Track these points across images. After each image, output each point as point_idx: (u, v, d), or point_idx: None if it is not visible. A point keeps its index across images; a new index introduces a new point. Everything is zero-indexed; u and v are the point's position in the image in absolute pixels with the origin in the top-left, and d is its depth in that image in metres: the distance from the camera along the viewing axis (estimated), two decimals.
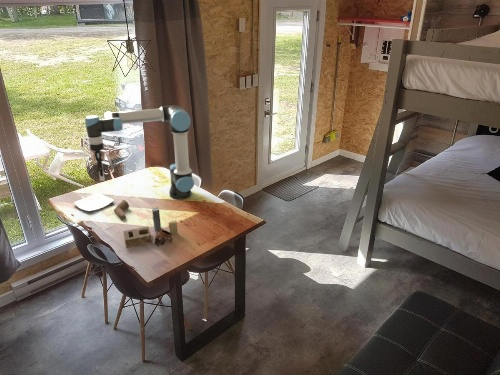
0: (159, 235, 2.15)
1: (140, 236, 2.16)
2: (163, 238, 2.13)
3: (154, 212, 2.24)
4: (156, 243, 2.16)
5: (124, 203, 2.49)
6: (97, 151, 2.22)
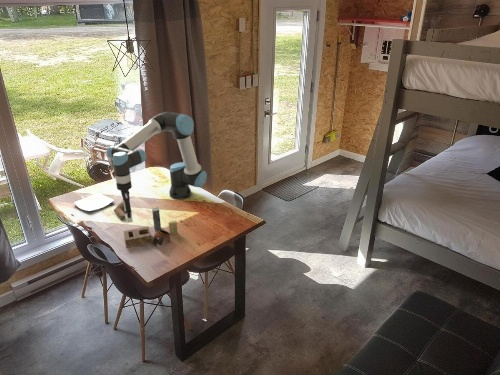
0: (157, 235, 2.15)
1: (140, 236, 2.16)
2: (161, 238, 2.13)
3: (154, 212, 2.24)
4: (154, 243, 2.16)
5: None
6: (125, 191, 2.01)
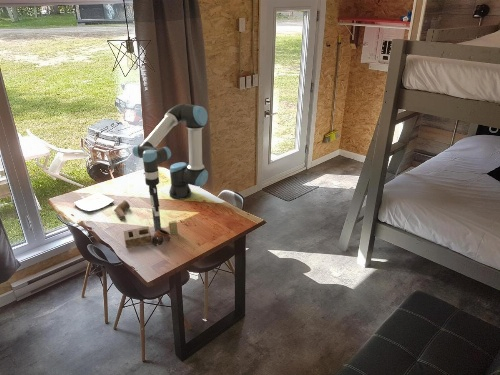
0: (157, 235, 2.16)
1: (140, 236, 2.16)
2: (161, 238, 2.13)
3: None
4: (154, 243, 2.16)
5: (125, 203, 2.49)
6: (153, 186, 2.15)
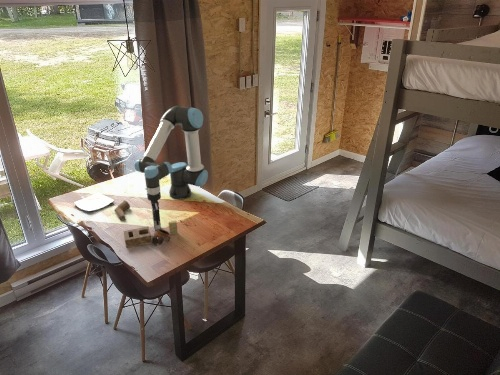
0: (157, 234, 2.16)
1: (140, 236, 2.16)
2: (161, 237, 2.14)
3: None
4: (154, 243, 2.16)
5: (125, 203, 2.49)
6: (155, 201, 2.19)
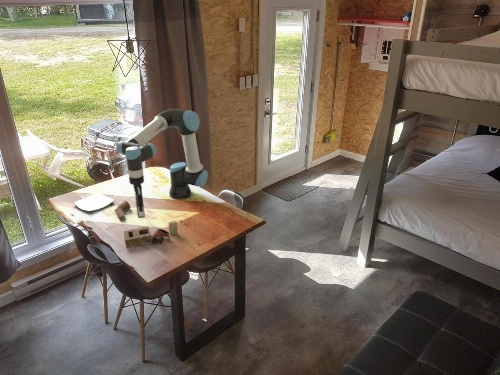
0: (157, 234, 2.16)
1: (140, 236, 2.16)
2: (161, 237, 2.14)
3: None
4: (154, 242, 2.17)
5: (125, 204, 2.49)
6: (137, 185, 2.03)
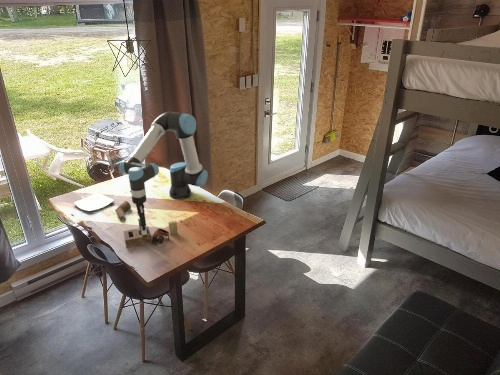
0: (157, 234, 2.16)
1: (140, 236, 2.16)
2: (162, 236, 2.14)
3: None
4: (154, 242, 2.17)
5: (126, 204, 2.49)
6: (140, 204, 2.08)
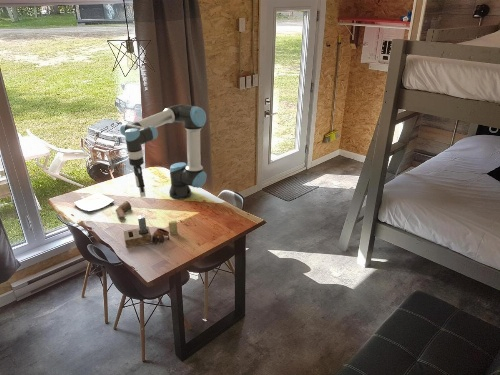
0: (157, 234, 2.17)
1: (140, 236, 2.16)
2: (162, 236, 2.15)
3: (140, 220, 2.14)
4: (154, 242, 2.17)
5: (126, 204, 2.48)
6: (137, 166, 2.09)
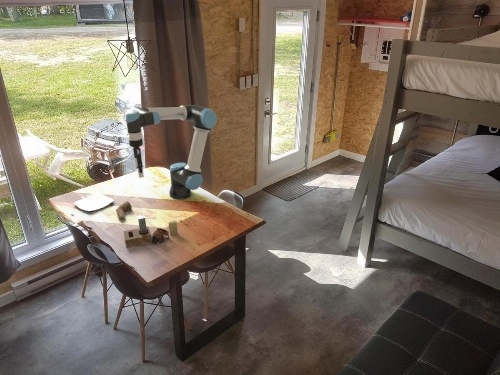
0: (157, 233, 2.17)
1: (140, 236, 2.16)
2: (162, 236, 2.15)
3: (140, 220, 2.14)
4: (154, 242, 2.17)
5: (126, 204, 2.48)
6: (137, 147, 2.18)
